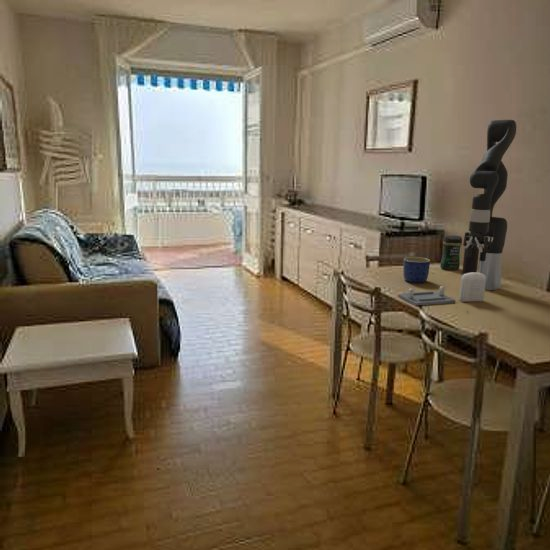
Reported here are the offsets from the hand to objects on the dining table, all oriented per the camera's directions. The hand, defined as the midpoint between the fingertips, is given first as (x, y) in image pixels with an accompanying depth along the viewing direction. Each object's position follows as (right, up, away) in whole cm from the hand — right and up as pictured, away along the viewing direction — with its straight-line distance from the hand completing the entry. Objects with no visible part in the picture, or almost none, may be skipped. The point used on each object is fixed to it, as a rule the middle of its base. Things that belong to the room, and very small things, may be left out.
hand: (475, 259), depth 201 cm
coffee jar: (+12, -4, +63) cm, 64 cm away
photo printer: (0, -18, +4) cm, 18 cm away
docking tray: (-19, -17, +5) cm, 26 cm away
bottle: (+15, -8, +45) cm, 48 cm away
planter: (-14, -10, +37) cm, 41 cm away
